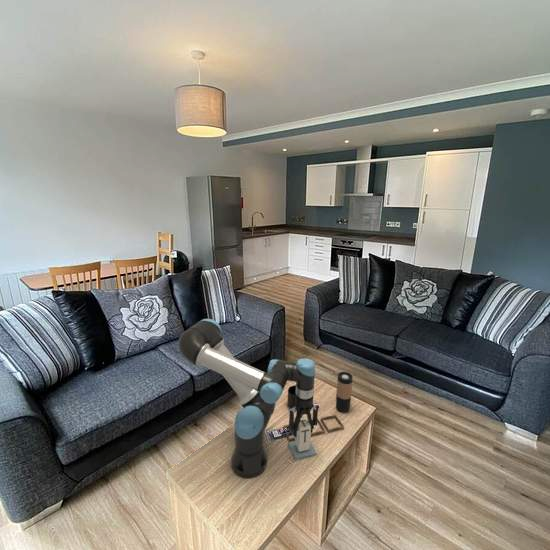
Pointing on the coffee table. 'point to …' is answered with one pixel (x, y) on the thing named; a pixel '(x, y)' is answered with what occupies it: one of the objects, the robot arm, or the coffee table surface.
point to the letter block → (303, 435)
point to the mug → (291, 396)
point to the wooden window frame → (318, 431)
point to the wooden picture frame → (287, 434)
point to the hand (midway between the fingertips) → (302, 439)
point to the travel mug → (343, 392)
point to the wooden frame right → (332, 428)
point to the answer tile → (301, 454)
